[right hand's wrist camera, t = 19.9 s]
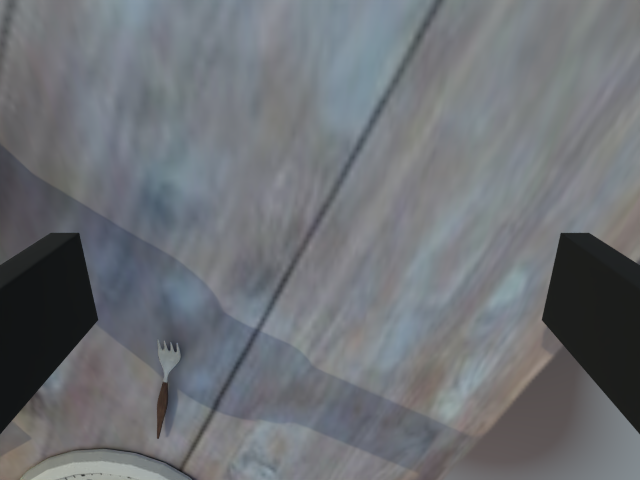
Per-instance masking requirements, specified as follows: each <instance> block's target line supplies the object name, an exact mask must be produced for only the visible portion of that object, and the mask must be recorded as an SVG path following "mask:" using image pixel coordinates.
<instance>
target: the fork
mask: <svg viewBox="0 0 640 480" xmlns="http://www.w3.org/2000/svg"><path fill="white" fill-rule="evenodd" d="M157 341H158V356H159V360H160V362H161V365H162V368H163V370H164V380H163V384H162V387H161V391H160V395H159V398H158V404H157V439H159V436H160V432H161V428H162V424H163V420H164V416H165V413H166V409H167V403H168V374H169V373H170V371H171V370H172V369H173V368H174V367H175V366H176V365H177V364H178V362H179V361H180V358H181V354H180V349H179V346H178V343H177V352H175V351H174V349H173V345H172V343H171V342H170V346H171V351H169V350H168V348H167V345H166V342H165V340H164V350H163V349H162V348H161V345H160V342H159V340H158V339H157Z"/></svg>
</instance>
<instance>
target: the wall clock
mask: <svg viewBox="0 0 640 480" xmlns="http://www.w3.org/2000/svg"><path fill="white" fill-rule="evenodd" d="M20 480H192V479H191V478H190V477H188V476H187V475H185V474H183V473H181V472H180V471H178V470H176V469H174V468H173V467H171V466H169V465H167V464H166V463H163V462H160V461H157V460H155V459H152V458H149V457H146V456H143V455H140V454H137V453H131V452H124V451H116V450H109V449H94V450H76V451H72V452H68V453H64V454H61V455H57V456H54V457H50V458H48V459H46V460H44V461H43V462H41V463H39V464H38V465H36V466H34V467H32V468H31V469H29V470H28V471H27V472H26V473H25V474H24V475H23V477H22V478H21V479H20Z"/></svg>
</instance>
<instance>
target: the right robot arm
mask: <svg viewBox="0 0 640 480" xmlns="http://www.w3.org/2000/svg"><path fill="white" fill-rule="evenodd" d="M97 321H98V317H97V313H96V308H95V303H94V299H93V294H92V290H91V285H90V281H89V276H88V271H87V267H86V262H85V258H84V253H83V249H82V244H81V239H80V235H79V233H50V234H49V235H47V236H45V237H44V238H42V239H41V240H39V241H38V242H36V243H34V244H33V245H31V246H30V247H28V248H27V249H25V250H24V251H22V252H20V253H19V254H17V255H16V256H14V257H13V258H11V259H9V260H8V261H6V262H5V263H3V264H2V265H0V434H1V433H2V431H3V430H4V429H5V428H6V427H7V426H8V424H9V423H10V422H11V421H12V420H13V419H14V417H15V416H16V415H17V414H18V413H19V412H20V410H21V409H22V408H23V407H24V406H25V405H26V403H27V402H28V401H29V400H30V399H31V398H32V396H33V395H34V394H35V393H36V392H37V391H38V389H39V388H40V387H41V386H42V385H43V384H44V382H45V381H46V380H47V379H48V378H49V377H50V375H51V374H52V373H53V372H54V371H55V370H56V368H57V367H58V366H59V365H60V364H61V363H62V361H63V360H64V359H65V358H66V357H67V356H68V354H69V353H70V352H71V351H72V350H73V349H74V347H75V346H76V345H77V344H78V343H79V342H80V341H81V339H82V338H83V337H84V336H85V335H86V334H87V332H88V331H89V330H90V329H91V328H92V327H93V325H94V324H95V323H96V322H97ZM542 321H543V322H544V323H545V324H546V325H547V327H548V328H549V329H550V330H551V331H552V332H553V334H554V335H555V336H556V337H557V338H558V339H559V341H560V342H561V343H562V344H563V345H564V346H565V347H566V349H567V350H568V351H569V352H570V353H571V354H572V356H573V357H574V358H575V359H576V360H577V361H578V363H579V364H580V365H581V366H582V367H583V368H584V370H585V371H586V372H587V373H588V374H589V375H590V377H591V378H592V379H593V380H594V381H595V382H596V384H597V385H598V386H599V387H600V388H601V389H602V391H603V392H604V393H605V394H606V395H607V396H608V398H609V399H610V400H611V401H612V402H613V403H614V405H615V406H616V407H617V408H618V409H619V410H620V412H621V413H622V414H623V415H624V416H625V417H626V419H627V420H628V421H629V422H630V423H631V424H632V426H633V427H634V428H635V429H636V430H637V431H638V432H639V434H640V265H638V264H637V263H635V262H634V261H632V260H631V259H629V258H627V257H626V256H624V255H623V254H621V253H620V252H618V251H616V250H615V249H613V248H612V247H610V246H609V245H607V244H606V243H604V242H602V241H601V240H599V239H598V238H596V237H595V236H593V235H591V234H590V233H561V235H560V239H559V244H558V249H557V253H556V258H555V262H554V267H553V271H552V276H551V281H550V285H549V290H548V294H547V299H546V303H545V308H544V313H543V317H542Z"/></svg>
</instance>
